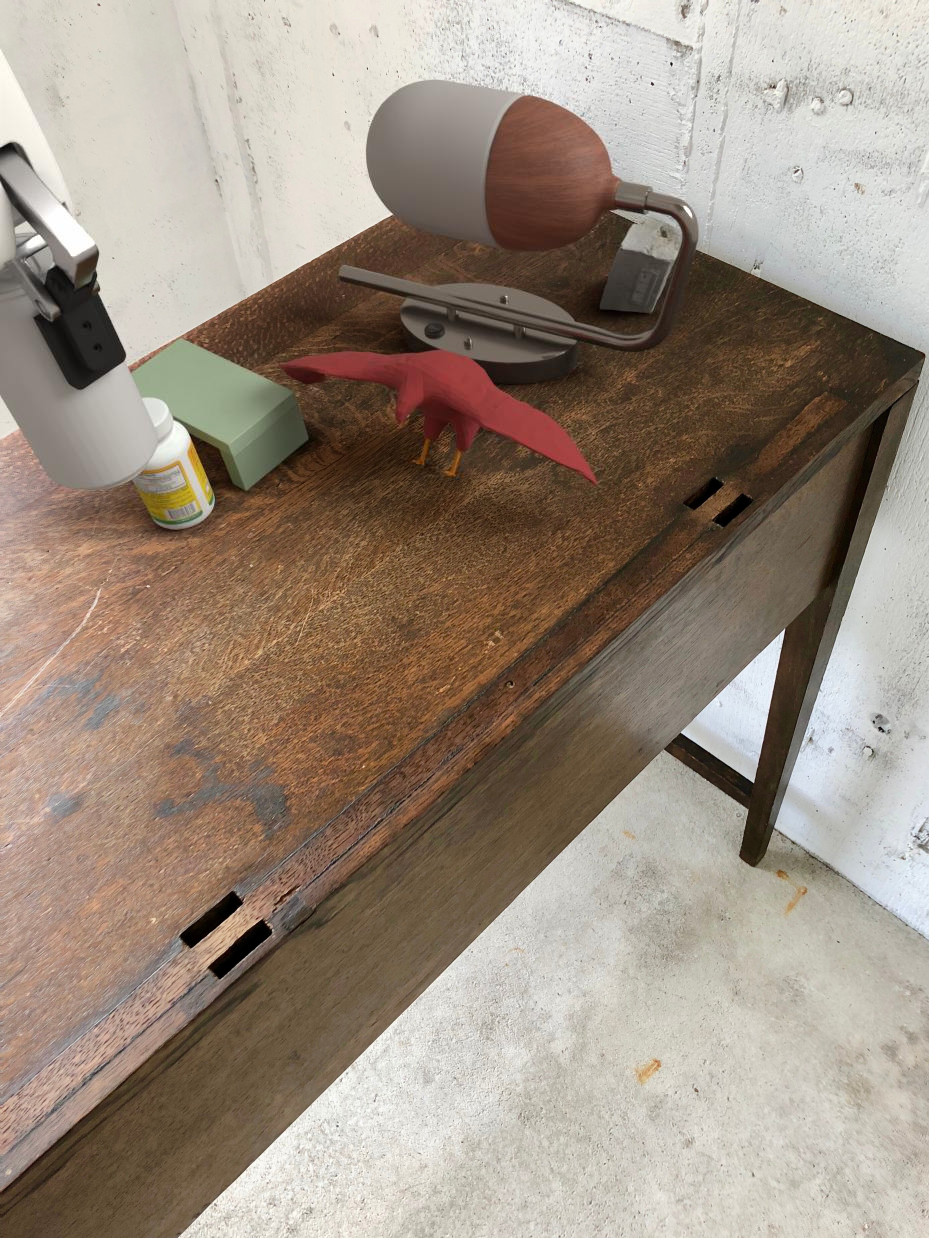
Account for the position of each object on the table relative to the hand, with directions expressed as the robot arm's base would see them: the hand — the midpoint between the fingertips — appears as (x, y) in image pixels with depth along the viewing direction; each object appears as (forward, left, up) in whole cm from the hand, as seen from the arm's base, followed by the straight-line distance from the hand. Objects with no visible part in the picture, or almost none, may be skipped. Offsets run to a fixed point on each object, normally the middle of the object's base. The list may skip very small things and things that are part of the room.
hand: (54, 346), depth 49 cm
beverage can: (0, -1, -7) cm, 7 cm away
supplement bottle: (-13, +9, -26) cm, 30 cm away
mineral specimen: (+4, +52, -26) cm, 58 cm away
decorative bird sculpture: (+2, +26, -26) cm, 37 cm away
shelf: (-17, +17, -26) cm, 35 cm away
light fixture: (-3, +40, -26) cm, 48 cm away
